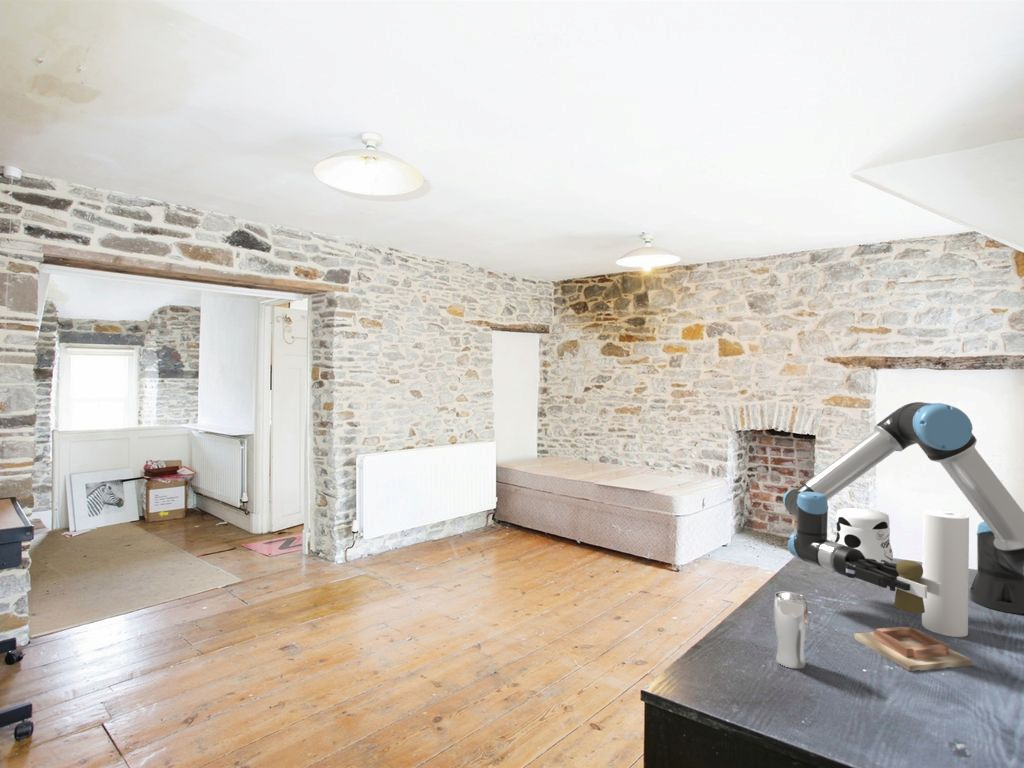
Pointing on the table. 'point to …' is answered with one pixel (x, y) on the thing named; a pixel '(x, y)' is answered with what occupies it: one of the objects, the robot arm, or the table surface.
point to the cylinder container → (946, 571)
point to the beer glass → (790, 628)
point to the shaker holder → (912, 648)
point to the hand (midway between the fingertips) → (933, 591)
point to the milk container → (865, 532)
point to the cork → (905, 599)
